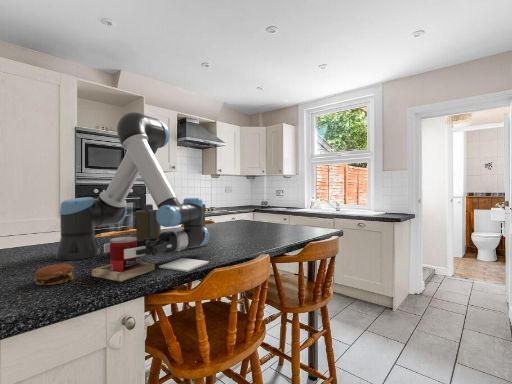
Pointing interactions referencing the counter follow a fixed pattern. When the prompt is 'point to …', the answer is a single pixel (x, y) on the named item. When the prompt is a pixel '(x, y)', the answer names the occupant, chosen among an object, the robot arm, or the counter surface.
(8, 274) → the counter surface
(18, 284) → the counter surface
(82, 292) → the counter surface
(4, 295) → the counter surface
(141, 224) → the canister
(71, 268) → the burger
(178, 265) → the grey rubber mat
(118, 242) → the canned food
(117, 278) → the oak holder frame
